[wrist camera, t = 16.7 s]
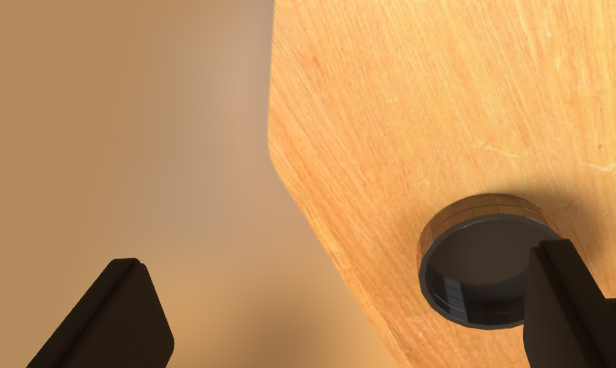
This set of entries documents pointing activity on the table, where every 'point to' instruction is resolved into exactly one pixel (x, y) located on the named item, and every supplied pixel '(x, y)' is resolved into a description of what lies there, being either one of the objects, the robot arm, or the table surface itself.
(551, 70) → the table surface
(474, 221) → the pan
